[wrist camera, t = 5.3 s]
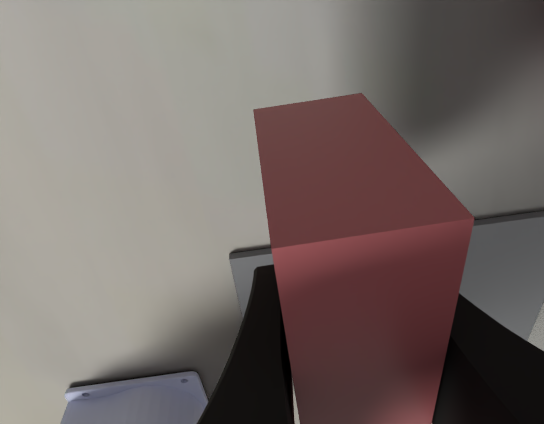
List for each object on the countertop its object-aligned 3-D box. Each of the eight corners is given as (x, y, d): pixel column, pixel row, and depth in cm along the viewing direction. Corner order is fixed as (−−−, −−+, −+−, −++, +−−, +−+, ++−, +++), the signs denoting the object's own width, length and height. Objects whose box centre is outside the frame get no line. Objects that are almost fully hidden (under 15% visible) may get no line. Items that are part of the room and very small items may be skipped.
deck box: (287, 324, 16) (312, 496, 11) (253, 109, 11) (271, 249, 6) (360, 312, 16) (419, 480, 11) (361, 92, 11) (474, 218, 6)
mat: (256, 375, 29) (256, 382, 28) (229, 253, 22) (229, 259, 22) (521, 339, 29) (525, 344, 29) (575, 206, 22) (581, 211, 22)
